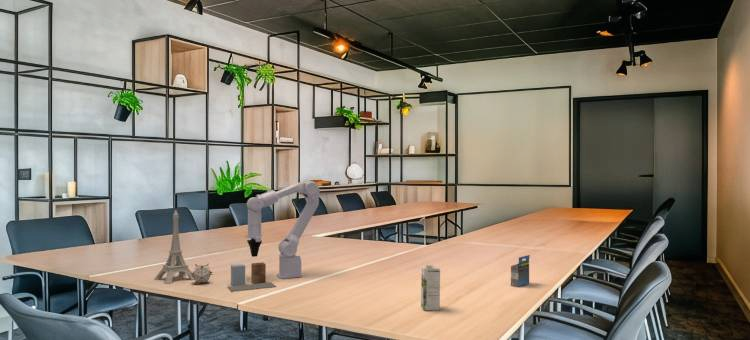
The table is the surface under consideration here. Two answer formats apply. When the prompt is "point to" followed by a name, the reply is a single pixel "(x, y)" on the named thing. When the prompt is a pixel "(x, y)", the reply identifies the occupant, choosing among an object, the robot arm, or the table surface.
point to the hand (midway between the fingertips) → (254, 256)
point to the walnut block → (258, 273)
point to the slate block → (237, 274)
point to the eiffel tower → (174, 258)
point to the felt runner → (251, 286)
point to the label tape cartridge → (520, 272)
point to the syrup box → (430, 288)
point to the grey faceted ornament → (201, 273)
